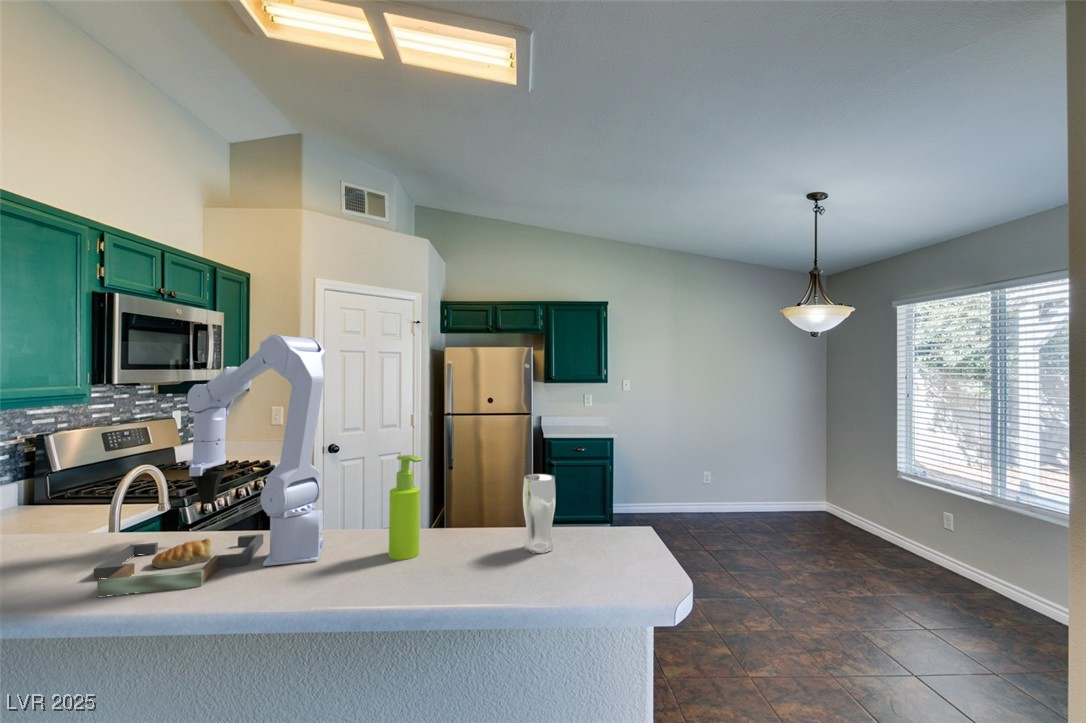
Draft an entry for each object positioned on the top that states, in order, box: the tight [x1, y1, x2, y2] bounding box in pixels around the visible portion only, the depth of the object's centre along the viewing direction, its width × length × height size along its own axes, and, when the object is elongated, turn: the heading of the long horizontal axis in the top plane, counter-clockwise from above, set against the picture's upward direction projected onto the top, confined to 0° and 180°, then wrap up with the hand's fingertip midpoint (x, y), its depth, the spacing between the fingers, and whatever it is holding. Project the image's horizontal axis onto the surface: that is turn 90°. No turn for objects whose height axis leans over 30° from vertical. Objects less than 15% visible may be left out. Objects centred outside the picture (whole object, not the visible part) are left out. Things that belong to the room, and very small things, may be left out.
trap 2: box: [218, 533, 264, 569], centre depth 95 cm, size 4×12×2 cm, turn 17°
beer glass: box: [522, 473, 556, 554], centre depth 99 cm, size 7×7×15 cm
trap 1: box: [92, 542, 159, 580], centre depth 89 cm, size 4×12×2 cm, turn 17°
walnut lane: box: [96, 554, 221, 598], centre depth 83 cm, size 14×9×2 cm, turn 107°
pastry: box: [151, 537, 213, 569], centre depth 91 cm, size 9×7×4 cm
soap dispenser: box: [388, 454, 423, 561], centre depth 95 cm, size 6×7×20 cm
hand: (207, 503), depth 101 cm, fingers closed
